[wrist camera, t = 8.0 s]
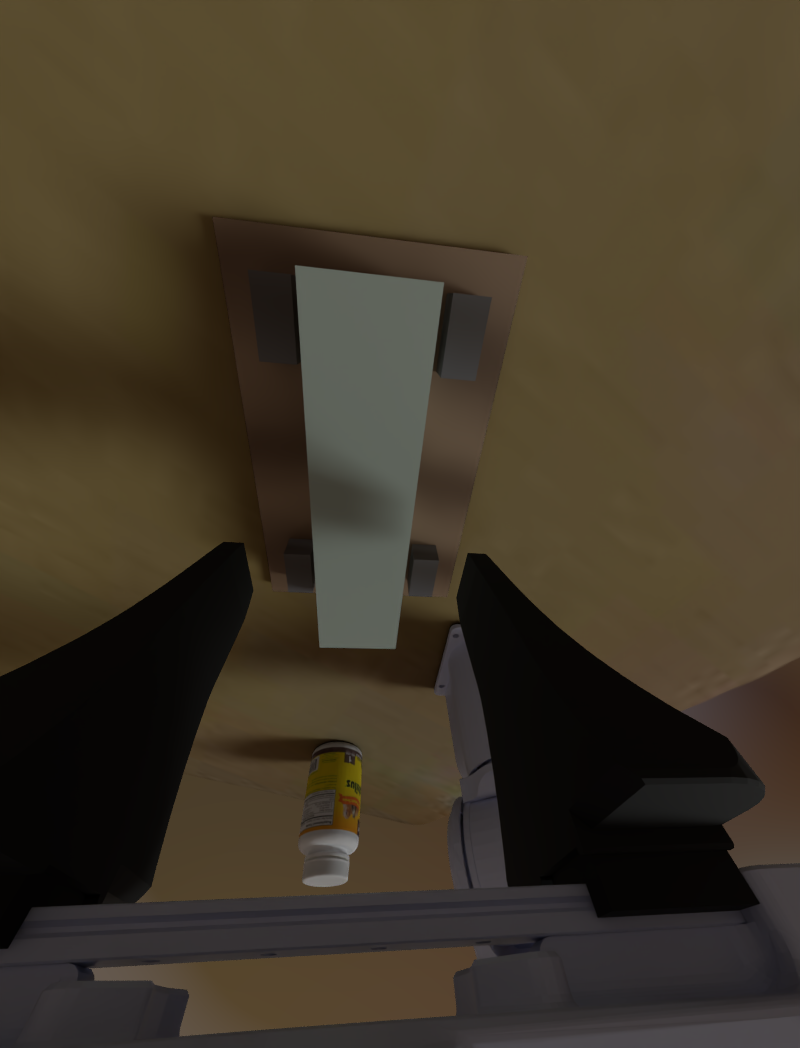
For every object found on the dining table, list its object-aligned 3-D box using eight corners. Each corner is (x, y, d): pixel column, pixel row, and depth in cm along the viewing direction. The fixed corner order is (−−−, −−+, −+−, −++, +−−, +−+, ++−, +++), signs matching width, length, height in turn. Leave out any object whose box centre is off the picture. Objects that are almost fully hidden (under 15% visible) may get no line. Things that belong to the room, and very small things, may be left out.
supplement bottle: (367, 758, 39) (363, 885, 31) (321, 764, 39) (304, 892, 31) (355, 736, 36) (347, 870, 28) (305, 742, 36) (282, 877, 28)
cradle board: (445, 588, 24) (450, 613, 23) (276, 582, 23) (266, 608, 21) (520, 258, 14) (542, 251, 12) (220, 220, 13) (193, 207, 11)
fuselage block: (392, 578, 23) (395, 648, 18) (332, 576, 22) (319, 647, 18) (423, 288, 14) (444, 282, 9) (324, 277, 13) (294, 264, 9)
